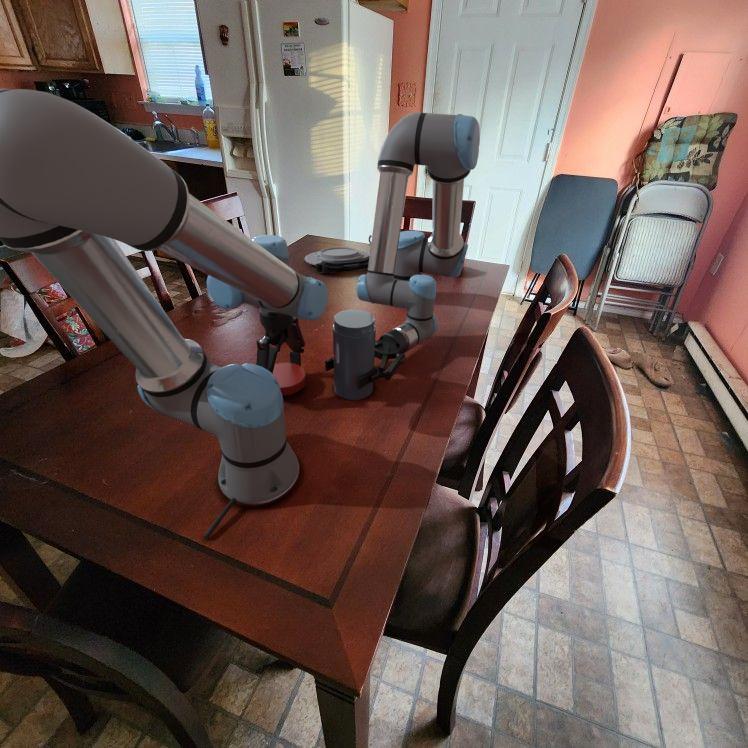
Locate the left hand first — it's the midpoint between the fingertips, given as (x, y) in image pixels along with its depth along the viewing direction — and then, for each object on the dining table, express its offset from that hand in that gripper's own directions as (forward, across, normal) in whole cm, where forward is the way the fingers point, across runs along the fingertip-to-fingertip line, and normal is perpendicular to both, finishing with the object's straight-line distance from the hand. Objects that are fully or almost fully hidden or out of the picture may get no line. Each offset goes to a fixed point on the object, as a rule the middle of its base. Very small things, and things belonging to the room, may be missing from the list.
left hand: (284, 385), depth 105 cm
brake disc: (+1, +87, +27) cm, 91 cm away
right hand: (-6, +3, -15) cm, 16 cm away
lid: (-3, 0, 0) cm, 3 cm away
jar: (0, +7, -16) cm, 18 cm away
